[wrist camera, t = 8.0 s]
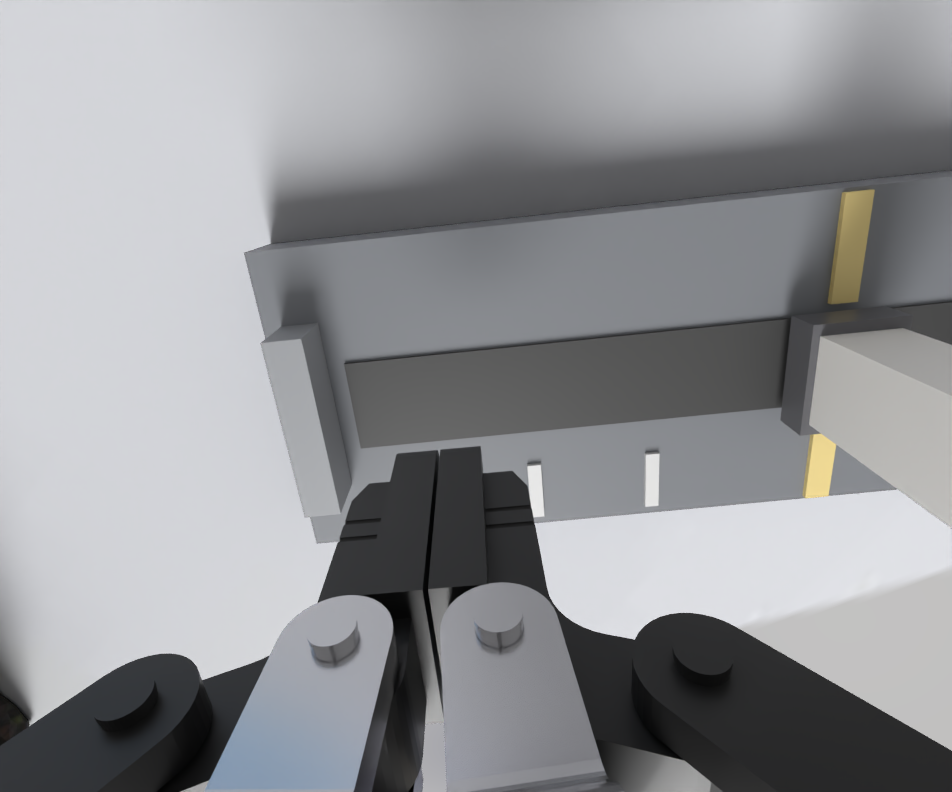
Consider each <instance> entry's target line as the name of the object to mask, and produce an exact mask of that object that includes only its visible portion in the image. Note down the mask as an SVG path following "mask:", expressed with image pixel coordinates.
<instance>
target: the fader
mask: <svg viewBox="0 0 952 792" xmlns="http://www.w3.org/2000/svg"><path fill="white" fill-rule="evenodd" d="M912 321H913V315H911V314H908V313H905V312H902V311H899V310H895V309H892V308H889V307H886V306H882V307H873V308H863V309H853V310H843V311H833V312H824V313H814V314H804V315H794V316H791V326H790V335H789V344H788V353H787V363H786V372H785V381H784V390H783V400H782V409H781V418H780V420H781V421H782V422H783V423H784V424H786V425H787V426H788V427H789V428H791V429H792V430H793V431H795V432H796V433H797V434H798V435H800V436H803V435H813V434H822V435H824V436H825V437H827V438H828V439H829V440H831V441H832V442H833V443H835V444H836V445H837V446H839V447H840V448H842V449H843V450H844V451H846V452H847V453H848V454H850V455H851V456H853V457H854V458H855V459H857V460H858V461H859V462H861V463H862V464H864V465H865V466H866V467H868V468H869V469H870V470H872V471H873V472H874V473H876V474H877V475H879V476H880V477H881V478H883V479H884V480H885V481H887V482H888V483H890V484H891V485H892V486H894V487H895V488H896V489H898V490H899V491H901V492H902V493H903V494H905V495H906V496H907V497H909V498H910V499H911V500H913V501H914V502H916V503H917V504H918V505H920V506H921V507H922V508H924V509H925V510H927V511H928V512H929V513H931V514H932V515H933V516H935V517H936V518H938V519H939V520H940V521H942V522H943V523H944V524H946V525H947V526H948V527H950V528H951V529H952V345H950V344H947V343H945V342H942V341H939V340H936V339H933V338H930V337H927V336H925V335H922V334H919V333H916V332H913V331H911V326H912Z"/></svg>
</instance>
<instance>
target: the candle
mask: <svg viewBox="0 0 952 792" xmlns="http://www.w3.org/2000/svg"><path fill="white" fill-rule="evenodd" d="M29 725H30V724H29V722H28V720H27V719H26V718H25V717H24V716H23V715H22V714H21V712H20V711H19V709H18V708H17V707H16V706H15V705H14V704H13V703H11V702H10V701H9V700H7V699H6V698H5V697H4V696H2V695H1V694H0V746H1V745H2V744H4V743H5V742H7V741H8V740H10V739H11V738H13V737H14V736H16V735H17V734H19V733H20V732H22V731H23V730H25V729H26V728H28V727H29Z"/></svg>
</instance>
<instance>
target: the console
mask: <svg viewBox="0 0 952 792" xmlns="http://www.w3.org/2000/svg"><path fill="white" fill-rule="evenodd" d="M244 255H245V259H246V263H247V267H248V271H249V275H250V279H251V283H252V287H253V291H254V295H255V299H256V303H257V307H258V311H259V315H260V319H261V323H262V327H263V331H264V335H265V340H264V341H263V342H261V347H262V351H263V355H264V359H265V363H266V367H267V371H268V375H269V379H270V383H271V387H272V390H273V394H274V398H275V402H276V406H277V410H278V414H279V418H280V422H281V426H282V430H283V434H284V438H285V442H286V445H287V449H288V453H289V457H290V461H291V465H292V469H293V473H294V477H295V481H296V485H297V489H298V493H299V497H300V500H301V504H302V508H303V512H304V516H305V517H310V519H311V523H312V526H313V530H314V534H315V538H316V542H317V544H318V543H328V542H339V541H340V535H341V532H342V529H343V526H344V525H345V520H346V517H347V514H348V511H349V508H350V505H351V502H352V500H353V499H354V498H355V497H356V496H357V495H358V494H359V493H360V492H361V491H362V490H363V489H364V488H365V487H366V486H367V485H368V484H369V483H380V482H390V479H391V475H392V471H393V467H394V462H395V458H396V455H397V454H398V453H409V452H420V451H431V450H438V452H439V456H440V450H441V449H452V448H463V447H475V446H481V453H482V463H483V473H492V472H503V471H513V472H514V473H515V474H516V475H517V476H518V477H519V478H520V479H521V480H522V481H523V482H524V483H525V484H526V485H527V486H528V491H529V497H530V502H531V509H532V512H533V518H534V523H543V522H553V521H564V520H575V519H585V518H596V517H607V516H618V515H628V514H639V513H650V512H661V511H671V510H682V509H693V508H703V507H714V506H725V505H736V504H746V503H757V502H768V501H778V500H789V499H800V498H814V497H825V496H832V495H843V494H853V493H864V492H875V491H886V490H896V488H895V487H894V486H892V485H891V484H890V483H888V482H887V481H885V480H884V479H883V478H881V477H880V476H879V475H877V474H876V473H874V472H873V471H872V470H870V469H869V468H868V467H866V466H865V465H864V464H862V463H861V462H859V461H858V460H857V459H855V458H854V457H853V456H851V455H850V454H848V453H847V452H846V451H844V450H843V449H842V448H840V447H839V446H837V445H836V444H835V443H833V442H832V441H831V440H829V439H828V438H827V437H825V436H824V435H822V434H813V435H803V436H800V435H798V434H797V433H796V432H795V431H793V430H792V429H791V428H789V427H788V426H787V425H786V424H784V423H783V422H782V421H781V420H780V418H781V409H782V400H783V390H784V381H785V372H786V363H787V353H788V344H789V335H790V326H791V316H794V315H804V314H814V313H824V312H833V311H843V310H853V309H863V308H873V307H882V306H886V307H889V308H892V309H895V310H899V311H902V312H905V313H908V314H911V315H913V321H912V326H911V331H913V332H916V333H919V334H922V335H925V336H927V337H930V338H933V339H936V340H939V341H942V342H945V343H947V344H950V345H952V170H949V171H940V172H931V173H922V174H913V175H903V176H894V177H885V178H876V179H866V180H857V181H848V182H839V183H829V184H820V185H811V186H802V187H793V188H783V189H774V190H765V191H756V192H746V193H737V194H728V195H719V196H709V197H700V198H691V199H682V200H673V201H663V202H654V203H645V204H636V205H626V206H617V207H608V208H599V209H589V210H580V211H571V212H562V213H553V214H543V215H534V216H525V217H516V218H506V219H497V220H488V221H479V222H469V223H460V224H451V225H442V226H432V227H423V228H414V229H405V230H396V231H386V232H377V233H368V234H359V235H349V236H340V237H331V238H322V239H312V240H303V241H294V242H285V243H276V244H269V245H266V246H263V247H260V248H257V249H254V250H251V251H248V252H245V253H244Z"/></svg>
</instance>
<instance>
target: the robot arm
mask: <svg viewBox="0 0 952 792" xmlns="http://www.w3.org/2000/svg"><path fill="white" fill-rule="evenodd" d="M436 723H444V736H445V737H444V738H445V762H446V784H447V785H446V786H447V792H952V751H951V750H949V749H948V748H946V747H944V746H942V745H941V744H939V743H937V742H935V741H933V740H932V739H930V738H928V737H927V736H925V735H923V734H921V733H920V732H918V731H916V730H914V729H913V728H911V727H909V726H907V725H906V724H904V723H902V722H901V721H899V720H897V719H895V718H893V717H892V716H890V715H888V714H887V713H885V712H883V711H881V710H880V709H878V708H876V707H874V706H873V705H871V704H869V703H867V702H866V701H864V700H862V699H860V698H859V697H857V696H855V695H853V694H851V693H850V692H848V691H846V690H844V689H843V688H841V687H839V686H838V685H836V684H834V683H832V682H831V681H829V680H827V679H825V678H824V677H822V676H820V675H818V674H817V673H815V672H813V671H812V670H810V669H808V668H806V667H805V666H803V665H801V664H799V663H797V662H796V661H794V660H792V659H791V658H789V657H787V656H785V655H784V654H782V653H780V652H778V651H777V650H775V649H773V648H771V647H770V646H768V645H766V644H764V643H763V642H761V641H759V640H758V639H756V638H754V637H752V636H751V635H749V634H747V633H745V632H744V631H742V630H740V629H738V628H737V627H735V626H733V625H731V624H729V623H727V622H725V621H722V620H719V619H717V618H714V617H710V616H706V615H701V614H694V613H676V614H669V615H666V616H662V617H659V618H657V619H655V620H653V621H651V622H650V623H648V624H647V625H646V626H644V627H643V629H642V630H641V631H640V632H639V633H638V635H637V637H636V639H635V640H633V639H628V638H623V637H617V636H612V635H607V634H602V633H598V632H594V631H591V630H589V629H586V628H583V627H581V626H579V625H578V624H576V623H574V622H572V621H571V620H569V619H568V618H566V617H565V616H564V615H563V614H562V613H561V612H560V611H559V610H558V609H557V608H556V606H555V605H554V604H553V602H552V600H551V599H550V597H549V594H548V590H547V586H546V581H545V575H544V570H543V565H542V560H541V554H540V549H539V544H538V539H537V533H536V528H535V525H534V518H533V512H532V509H531V502H530V497H529V491H528V486H527V485H526V484H525V483H524V482H523V481H522V480H521V479H520V478H519V477H518V476H517V475H516V474H515V473H514V472H513V471H503V472H492V473H483V463H482V453H481V446H475V447H463V448H452V449H441V450H440V456H439V452H438V450H431V451H420V452H409V453H398V454H397V455H396V458H395V462H394V467H393V471H392V475H391V479H390V482H380V483H369V484H368V485H367V486H366V487H365V488H364V489H363V490H362V491H361V492H360V493H359V494H358V495H357V496H356V497H355V498H354V499H353V500H352V502H351V505H350V508H349V511H348V514H347V517H346V520H345V525H344V526H343V529H342V532H341V535H340V542H338V544H337V547H336V550H335V553H334V555H333V558H332V561H331V564H330V567H329V570H328V573H327V576H326V579H325V582H324V585H323V588H322V591H321V594H320V597H319V600H318V603H317V604H314V605H312V606H311V607H309V608H307V609H305V610H304V611H302V612H301V613H300V614H298V615H297V616H296V617H295V618H294V619H293V620H292V621H291V622H290V623H288V625H287V626H286V627H285V628H284V630H283V631H282V633H281V634H280V636H279V638H278V639H277V642H276V644H275V646H274V648H273V650H272V652H271V654H270V655H269V656H268V657H266V658H264V659H261V660H259V661H256V662H254V663H251V664H249V665H246V666H243V667H240V668H237V669H234V670H231V671H228V672H225V673H222V674H220V675H217V676H214V677H211V678H208V679H205V680H202V679H201V677H200V674H199V672H198V669H197V667H196V665H195V664H194V663H193V662H192V661H191V660H190V659H188V658H187V657H184V656H181V655H177V654H158V655H152V656H147V657H144V658H141V659H137V660H135V661H132V662H130V663H127V664H125V665H123V666H121V667H119V668H117V669H115V670H114V671H112V672H110V673H109V674H107V675H105V676H104V677H102V678H101V679H99V680H98V681H96V682H95V683H93V684H92V685H90V686H89V687H87V688H86V689H84V690H83V691H81V692H80V693H78V694H77V695H75V696H74V697H72V698H71V699H69V700H68V701H66V702H65V703H63V704H62V705H60V706H59V707H57V708H56V709H54V710H53V711H52V712H50V713H49V714H47V715H46V716H44V717H43V718H41V719H40V720H38V721H37V722H35V723H34V724H32V725H31V726H29V727H28V728H26V729H25V730H23V731H22V732H20V733H19V734H17V735H16V736H14V737H13V738H11V739H10V740H8V741H7V742H5V743H4V744H2V745H1V746H0V792H422V790H423V774H422V768H421V764H422V757H423V745H424V731H425V724H436Z"/></svg>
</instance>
